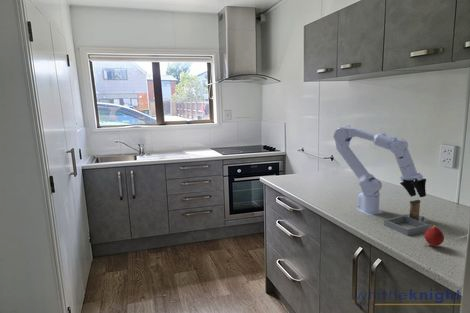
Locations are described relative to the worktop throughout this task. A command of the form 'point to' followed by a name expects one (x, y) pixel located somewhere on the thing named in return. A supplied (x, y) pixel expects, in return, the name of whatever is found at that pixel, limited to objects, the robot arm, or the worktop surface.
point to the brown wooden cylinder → (414, 209)
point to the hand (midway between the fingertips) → (418, 196)
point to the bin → (419, 225)
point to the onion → (434, 236)
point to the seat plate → (419, 218)
